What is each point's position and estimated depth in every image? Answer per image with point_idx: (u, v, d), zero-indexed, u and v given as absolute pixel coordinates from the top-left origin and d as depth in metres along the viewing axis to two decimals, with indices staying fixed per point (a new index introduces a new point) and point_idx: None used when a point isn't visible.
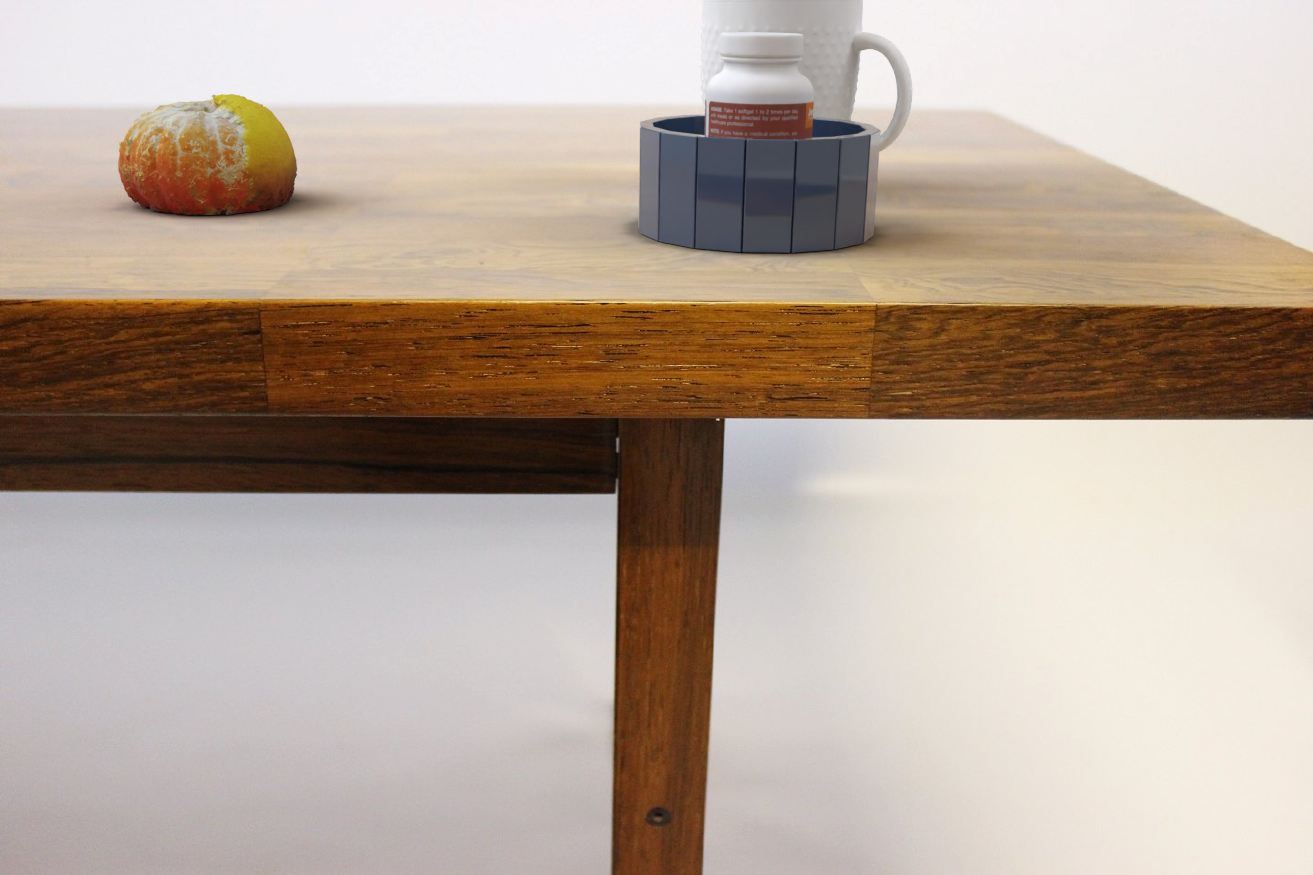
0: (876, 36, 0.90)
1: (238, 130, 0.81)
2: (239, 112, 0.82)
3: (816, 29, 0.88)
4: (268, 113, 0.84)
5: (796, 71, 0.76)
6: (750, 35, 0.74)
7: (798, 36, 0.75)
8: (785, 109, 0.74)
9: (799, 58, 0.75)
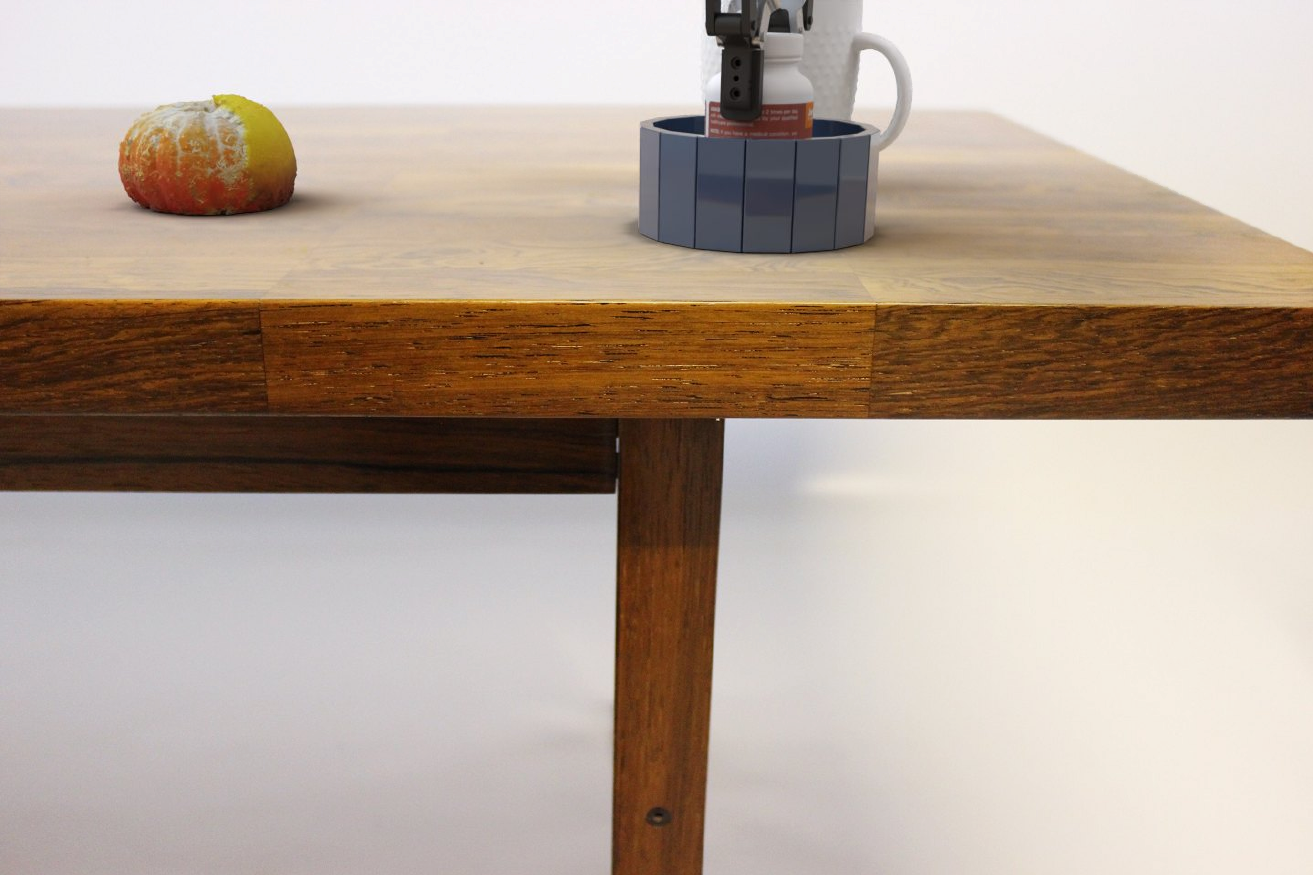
0: (876, 36, 0.90)
1: (238, 130, 0.81)
2: (239, 112, 0.82)
3: (816, 29, 0.88)
4: (268, 113, 0.84)
5: (796, 71, 0.76)
6: None
7: (798, 36, 0.75)
8: (784, 109, 0.74)
9: (799, 58, 0.75)
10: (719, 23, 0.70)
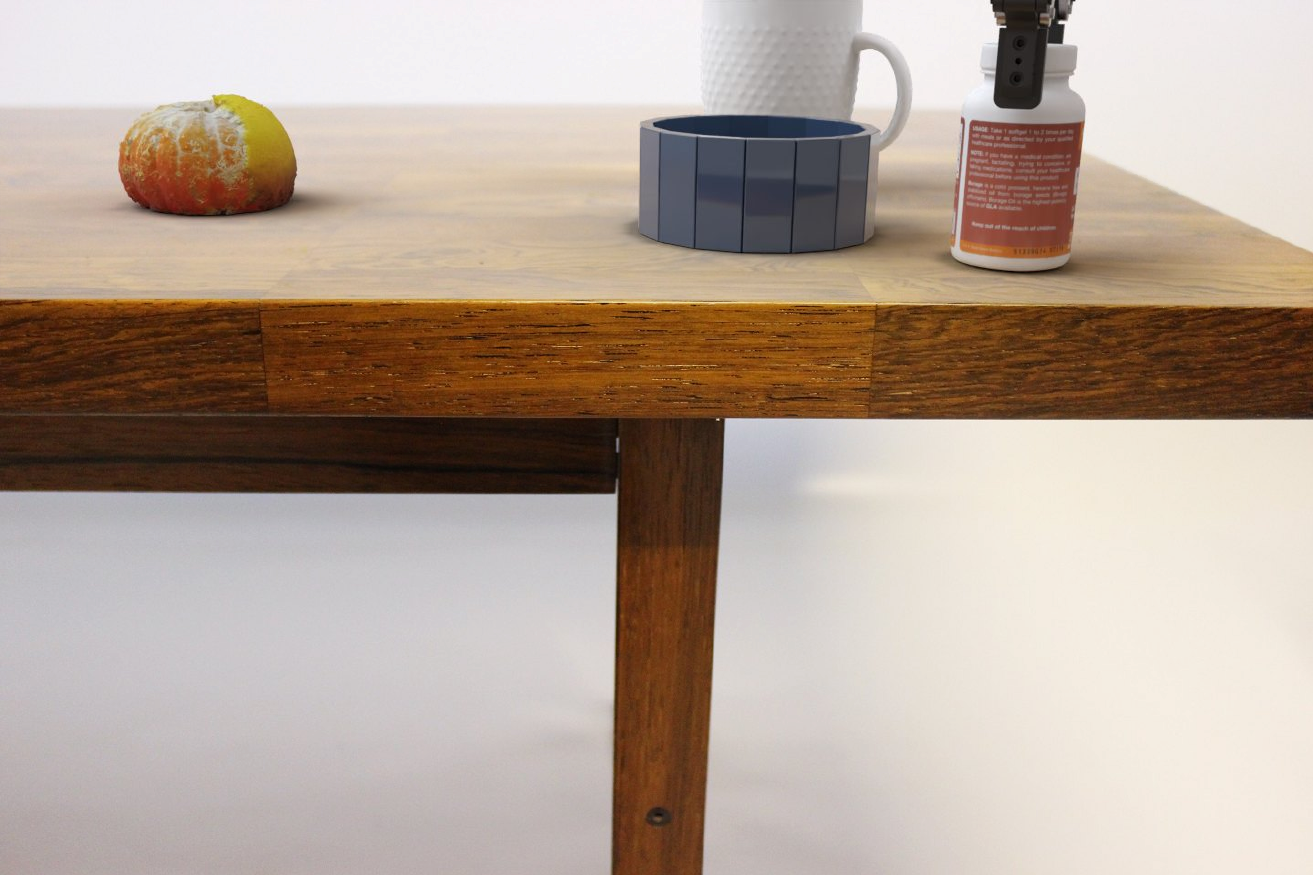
0: (876, 36, 0.90)
1: (238, 130, 0.81)
2: (239, 112, 0.82)
3: (816, 29, 0.88)
4: (268, 113, 0.84)
5: (1068, 86, 0.68)
6: None
7: (1075, 48, 0.67)
8: (1061, 129, 0.67)
9: (1073, 72, 0.68)
10: None
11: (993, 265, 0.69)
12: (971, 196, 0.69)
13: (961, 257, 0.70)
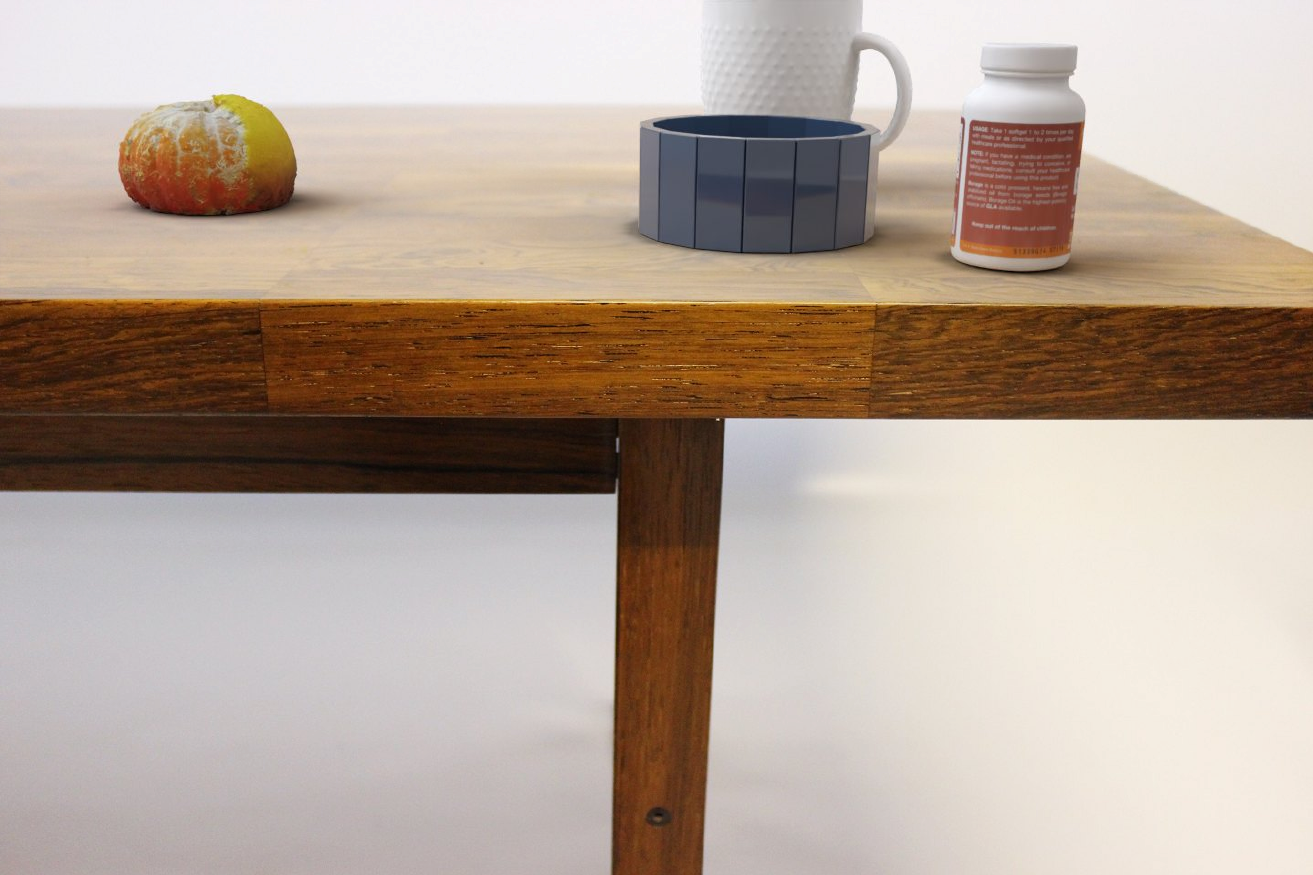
0: (876, 36, 0.90)
1: (238, 130, 0.81)
2: (239, 112, 0.82)
3: (816, 29, 0.88)
4: (268, 113, 0.84)
5: (1068, 86, 0.68)
6: (1025, 47, 0.66)
7: (1075, 48, 0.67)
8: (1061, 129, 0.67)
9: (1073, 72, 0.68)
10: None
11: (993, 265, 0.69)
12: (971, 196, 0.69)
13: (961, 257, 0.70)
